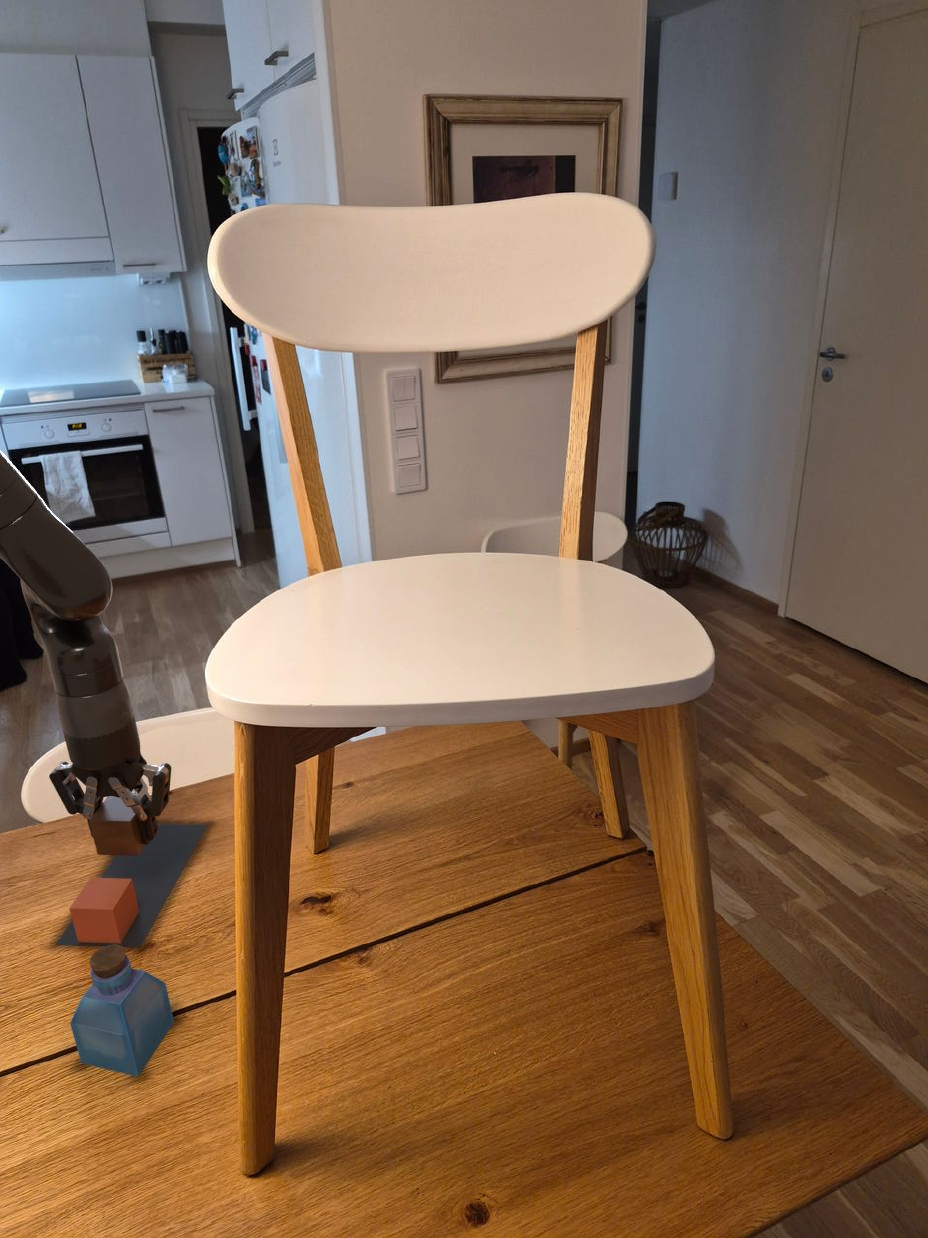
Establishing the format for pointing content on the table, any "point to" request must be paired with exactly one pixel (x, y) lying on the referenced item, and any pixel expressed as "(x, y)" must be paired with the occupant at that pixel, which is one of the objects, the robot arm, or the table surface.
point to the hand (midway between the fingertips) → (126, 839)
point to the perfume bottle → (120, 1014)
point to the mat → (149, 877)
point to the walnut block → (116, 829)
